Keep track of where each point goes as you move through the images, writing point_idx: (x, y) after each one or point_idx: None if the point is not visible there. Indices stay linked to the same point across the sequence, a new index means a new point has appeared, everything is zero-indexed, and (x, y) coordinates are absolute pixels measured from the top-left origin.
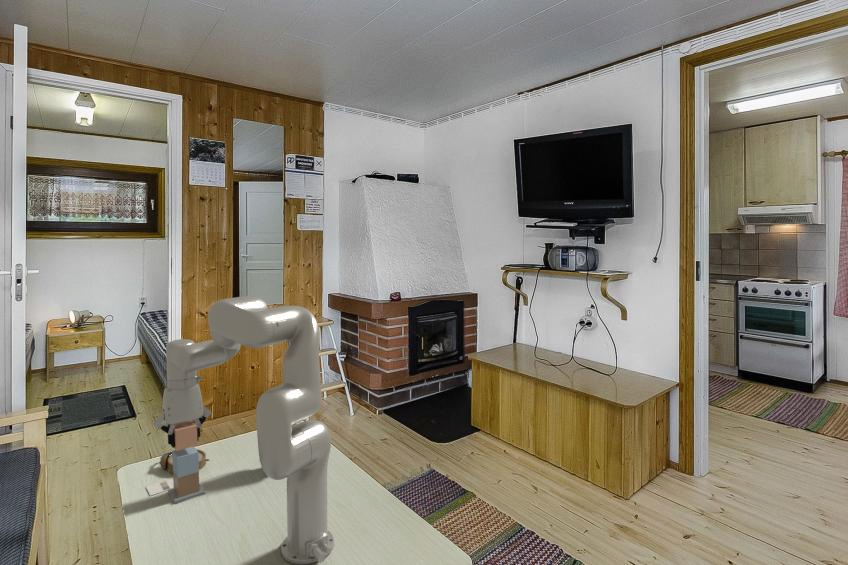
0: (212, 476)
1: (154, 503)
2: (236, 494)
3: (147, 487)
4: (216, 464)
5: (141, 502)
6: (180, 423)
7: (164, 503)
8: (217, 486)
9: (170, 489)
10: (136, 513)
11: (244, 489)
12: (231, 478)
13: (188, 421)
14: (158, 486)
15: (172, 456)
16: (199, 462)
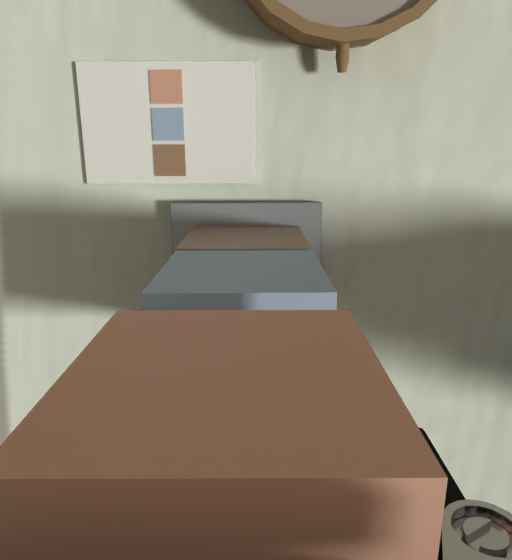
0: (410, 180)
1: (99, 272)
2: (423, 429)
3: (82, 74)
4: (491, 32)
5: (45, 221)
6: (176, 545)
7: (139, 302)
8: (387, 306)
9: (180, 212)
10: (20, 309)
11: (470, 411)
12: (475, 271)
13: (354, 540)
14: (136, 106)
15: (153, 280)
16: (399, 27)
